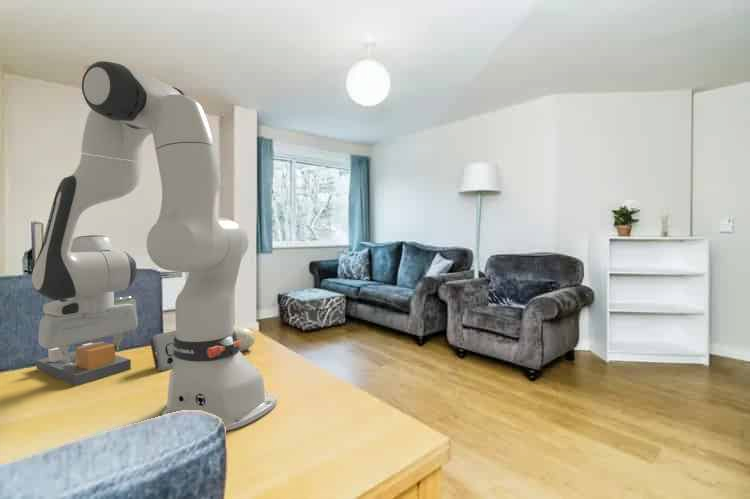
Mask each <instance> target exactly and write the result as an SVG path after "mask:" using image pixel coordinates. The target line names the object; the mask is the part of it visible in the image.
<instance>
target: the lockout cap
mask: <svg viewBox="0 0 750 499" xmlns="http://www.w3.org/2000/svg"><path fill="white" fill-rule="evenodd" d="M75 351H76V366H79V367H82V368H84V369H87V370H91V369H94V368H98V367H101V366H105V365H108V364H112V363H115V355H116V351H115V345H113V344H112V343H109V342H106V341H99V342H94V344H89V345H85V346H82V345H81V346H77V347H75Z"/></svg>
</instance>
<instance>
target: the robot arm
mask: <svg viewBox="0 0 750 499" xmlns="http://www.w3.org/2000/svg"><path fill="white" fill-rule="evenodd" d="M81 91H82V95H83V97H84V98H83V99H84V100H85V102H86V104H87V106H88V107H89V108H90V110H89V112H88V115H87V117H86V121H85V125H84V129H83V134H82V142H81V154H80V160H79V164H78V166H77V167H76V168H75V170H74V172H73V174H71V175H68V176H66V177H63V178H62V180H61V181H60V182H59V185H58V187H57V189H56V192H55V195H54V197H53V198H54V199H53V201H52V206H51V209H50V212H49V217H48V221H47V224H46V229H45V233H44V235H43V240H42V244H41V247H40V250H39V253H38V256H37V257H36V261H35V263H34V267H33V270H32V274H31V282H32V286H33V289H34V291H35V292H37V293H38V294H40V295H41V296H42V297H44V298H47V299H49V300H51V302H47V303H45V304H44V305H43V306H42V310H43V311H42V312H43V313H45V315H44V316H43V317H42V318H41V319H40V321H39V327H38V341H37V342H38V345H39V346H40V347H42V348H43V349H47V350H48V349H53V348H58V347H59V350H60V351H61V352H62V354H63V355H65V362H66V363H67V364H69V363H72V362H76V359H75V358H76V355H75V354H70V353H69V352H70V351H68V350H71V345H74V344H75V345H76V344H80V343H85V342H88V341H92V340H93V341H94V340H98V339H101V338H107V337H111V336H113V337H114V339H113V341H112V343H111V344H113V345H115V352H119V350H120V348H119V345H120V343H121V341H122V340H123V338H124V334H125V333H129V332H135V331H136V330H137V328H138V326H139V321H138V314H137V300H136V299H135V298H133V297H132V296H129V295H127V296H123V297H115V292H121V291H123V290H127V289H129V288H130V287H131V286H132V285H133V284H134V283H135V281H136V279H137V272H138V271H137V262H136V260H135V259H134V258H133V257H132V256H131V255H130V254H128V252H126V251H121V250H119V249H118V248H116V247H115V246H114V245H113V244H112V239H111V238H110V237H109V236H106V235H96V234H95V235H93V234H92V235H82V236H81V235H80V236H77V237H75V233H76V229H77V225H78V222H79V218H80V216H81V215H82V214H83V213H84V212H85V211H86V210H87V209H89V208H91V207H94V206H95V205H99V204H101V203H105V202H106V203H107V202H109V201H112V200H117V199H121V198H123V197H125V196H126V195H129V194H130V193H132V192H133V191H135V189H136V188H137V187H138V186H139V183H140V182H141V177H142V168H143V167H142V166H143V161H142V160H143V145H144V141H145V140H146V138H147V137H149V135H152V138H153V142H154V149H155V155H156V160H157V165H158V170H159V177H160V183H161V192H162V193H161V194H162V196H161V204H160V211H159V214H158V218H157V220H156V221H155V224H154V225H153V226H151V228H150V229H149V231H148V234H147V237H146V242H145V245H146V250H147V253H148V256H149V258H150V260H151V261H152V263H154V265H156V266H158V267H159V268H160V269H162V270H167V271H172V272H177V273H188V274H187V277H186V280H185V283H184V285H183V288H181V291H180V292H179V293H178V295H177V297H176V299H175V330H176V336H175V337H174V343H173V349H174V356H175V357H176V359H175V363H174V366H173V368H171V371H170V372H169V377H168V378H169V379H168V391H167V403H166V407H165V409H164V410H163V411H162V414H161V416H162V415H164V414H168V413H172V412H176V411H181V410H202V411H205V412H208V413H211V414H214V415H216V416H218V417H220V418H221V419H222V421H223V422H224V425H225V427H226V431H225V432H227V431H232V430H234V429H238V428H241V427H244V426H246V425H249V423H252V422H254V421H256V420H257V419H259V418H261V417H262V416H264V415H266V414H267V413H268V412H270V411H271V410H273V409H274V407H275V406H276V405H277V403H278V402H277V397H276V396H274V395H272V394H271V393H269V392H266V390H265V383H264V378H263V375H262V373H261V372H260V371H259V368H258V367H257V366H254V365H253V364H252V363H251V362H250V361H249V360H248V358H246V356H244V354H243V353H242V351H239V350H240V346H239V345H242V344H243V343H241V344H239V342H241V341H243V339H241V340H238V339H237V336H236V333H235V331H234V298H235V290H236V285H237V281H238V275H239V271H240V267H241V262H242V260H243V257H244V256H245V254H246V253H247V251H248V248H249V242H250V240H249V236H248V233H247V231H246V230H245V228H244V227H243V226H242V225H241V224H240V223H237V222H235V221H234V220H231V219H229V218H226V217H217V216H216V212H215V211H216V209H215V208H216V206H215V205H216V197H217V193H218V192H219V190H220V189H221V188H222V187H221V186H222V178H221V175H220V168H219V162H218V158H217V154H216V147H215V142H214V138H213V135H212V132H211V128H210V125H209V122H208V119H207V116H206V114H205V112H204V110H203V107H202V106H201V104H200V103H199V102H198V101H197V100H196V99H194V98H192V96H191V97H190V96H188V95H187V94H186V93H185V92H184V91H182V90H181V89H179V88H177V87H175V86H171V85H169V84H167V83H166V82H163V81H161V80H160V79H157V78H155V77H154V76H152V75H151V74H147V73H145V72H142V71H139V70H135V69H131V68H129V67H126V66H125V65H123V64H121V63H116V62H110V61H102V60H101V61H97V62H94V63H92V64H91V65H90V66H89V67H88V68H87V70H86V71H85V72H84V74H83V76H82V82H81Z"/></svg>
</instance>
